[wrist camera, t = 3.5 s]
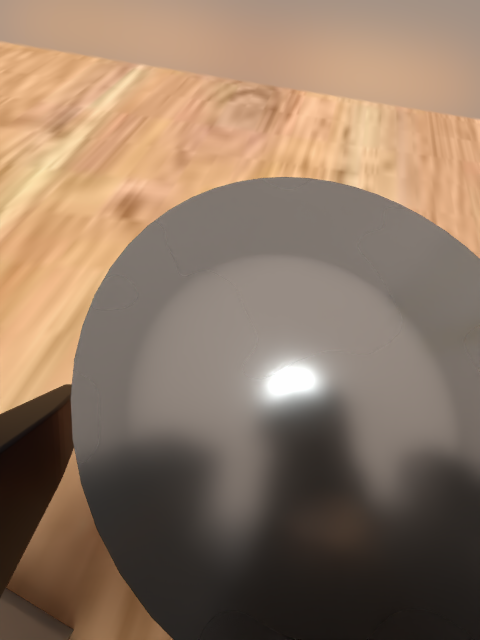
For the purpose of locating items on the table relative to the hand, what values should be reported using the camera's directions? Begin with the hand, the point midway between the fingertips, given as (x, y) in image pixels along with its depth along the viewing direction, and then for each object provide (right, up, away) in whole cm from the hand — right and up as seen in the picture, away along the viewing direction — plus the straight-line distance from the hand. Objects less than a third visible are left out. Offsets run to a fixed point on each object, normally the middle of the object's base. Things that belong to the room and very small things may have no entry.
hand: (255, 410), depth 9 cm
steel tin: (-1, -4, +7) cm, 8 cm away
